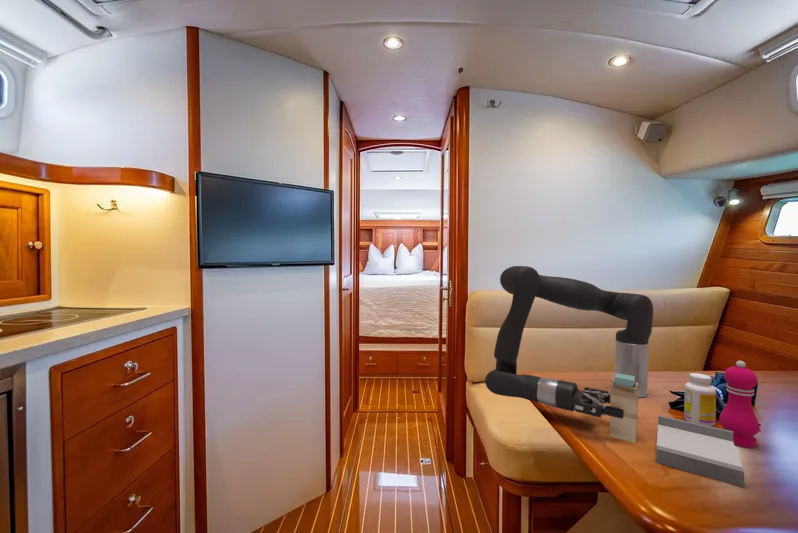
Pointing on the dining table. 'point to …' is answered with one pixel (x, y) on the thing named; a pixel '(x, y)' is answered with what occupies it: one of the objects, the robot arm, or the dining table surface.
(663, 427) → the dock
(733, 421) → the pepper mill
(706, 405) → the supplement bottle
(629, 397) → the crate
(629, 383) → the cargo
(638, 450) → the dining table surface
